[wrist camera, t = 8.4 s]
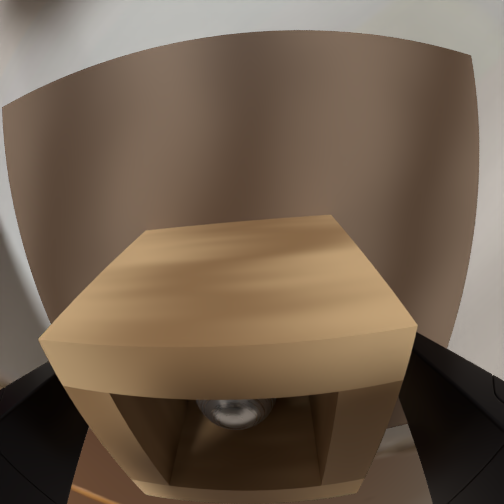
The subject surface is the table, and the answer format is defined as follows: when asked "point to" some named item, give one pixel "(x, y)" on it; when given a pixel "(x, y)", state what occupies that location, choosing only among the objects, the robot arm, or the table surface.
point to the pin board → (255, 161)
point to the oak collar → (237, 359)
